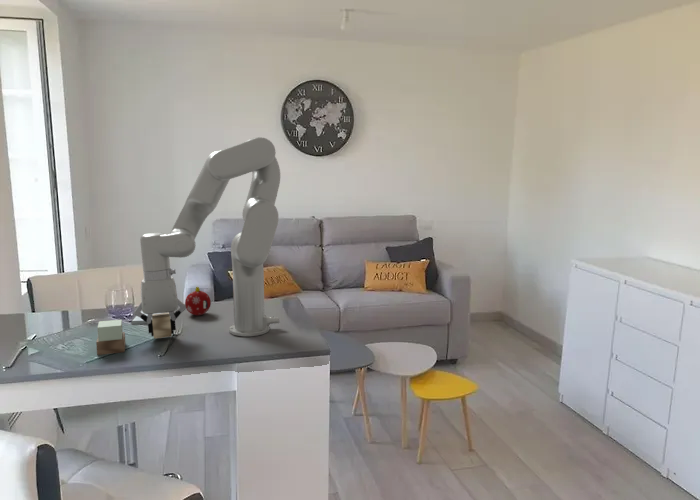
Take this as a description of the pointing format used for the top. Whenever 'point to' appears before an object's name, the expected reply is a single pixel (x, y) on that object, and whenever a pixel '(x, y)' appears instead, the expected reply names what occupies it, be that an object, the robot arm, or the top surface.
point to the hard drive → (140, 321)
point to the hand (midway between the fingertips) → (162, 333)
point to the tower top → (110, 330)
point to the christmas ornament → (197, 302)
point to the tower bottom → (111, 346)
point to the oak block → (161, 325)
